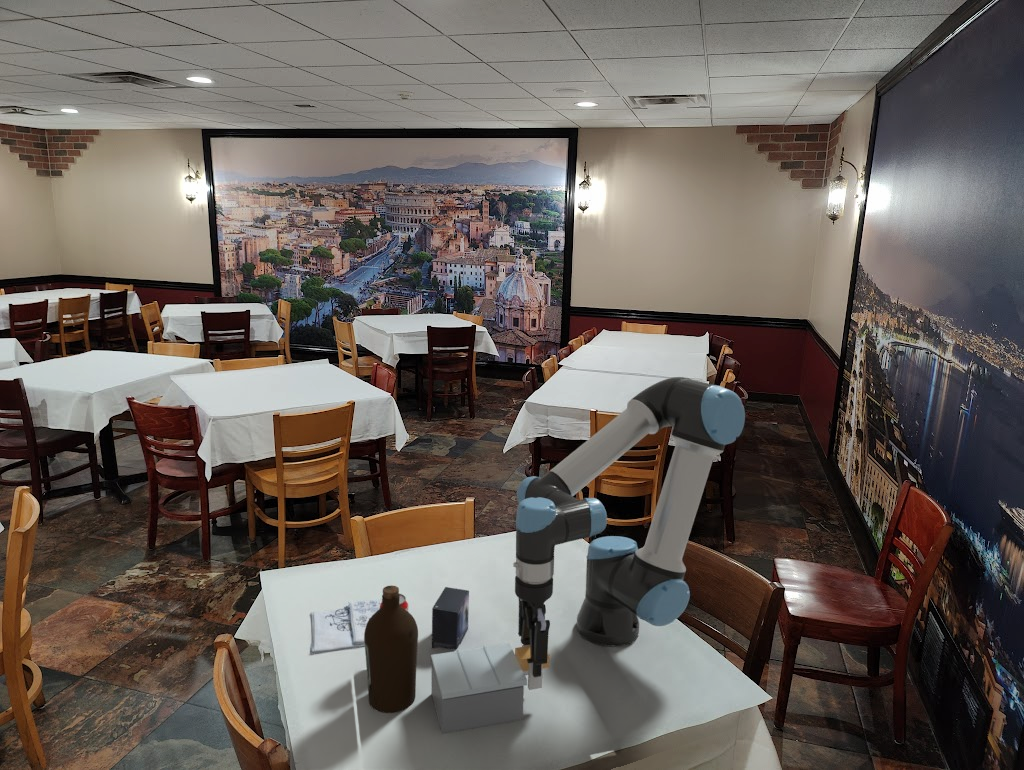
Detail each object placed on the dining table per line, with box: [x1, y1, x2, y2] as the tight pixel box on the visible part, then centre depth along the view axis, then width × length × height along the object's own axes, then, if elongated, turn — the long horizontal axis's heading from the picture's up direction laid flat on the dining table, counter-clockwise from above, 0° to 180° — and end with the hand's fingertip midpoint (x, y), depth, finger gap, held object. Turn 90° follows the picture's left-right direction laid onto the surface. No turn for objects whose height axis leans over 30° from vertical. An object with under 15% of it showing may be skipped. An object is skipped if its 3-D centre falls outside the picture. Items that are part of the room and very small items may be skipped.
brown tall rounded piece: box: [364, 585, 419, 714], centre depth 140 cm, size 11×11×25 cm
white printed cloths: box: [309, 598, 382, 655], centre depth 169 cm, size 19×20×2 cm
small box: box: [430, 586, 470, 651], centre depth 164 cm, size 11×6×10 cm, turn 168°
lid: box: [430, 643, 550, 699], centre depth 140 cm, size 23×13×4 cm, turn 106°
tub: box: [431, 664, 525, 734], centre depth 140 cm, size 16×12×8 cm
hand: (531, 680), depth 143 cm, fingers closed on lid, 4 cm apart
